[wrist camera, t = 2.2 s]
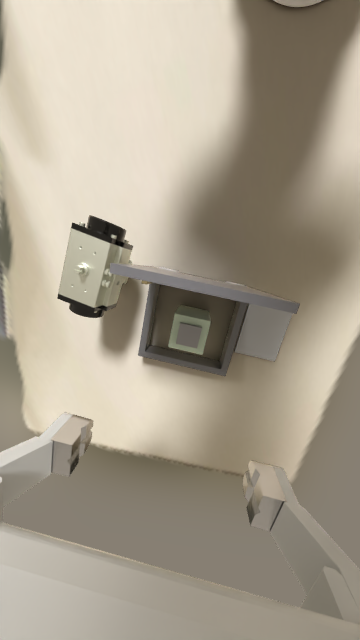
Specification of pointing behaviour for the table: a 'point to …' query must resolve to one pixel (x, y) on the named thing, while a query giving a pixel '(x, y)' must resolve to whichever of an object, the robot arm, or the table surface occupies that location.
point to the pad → (262, 332)
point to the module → (190, 329)
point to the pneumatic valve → (93, 267)
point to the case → (199, 285)
